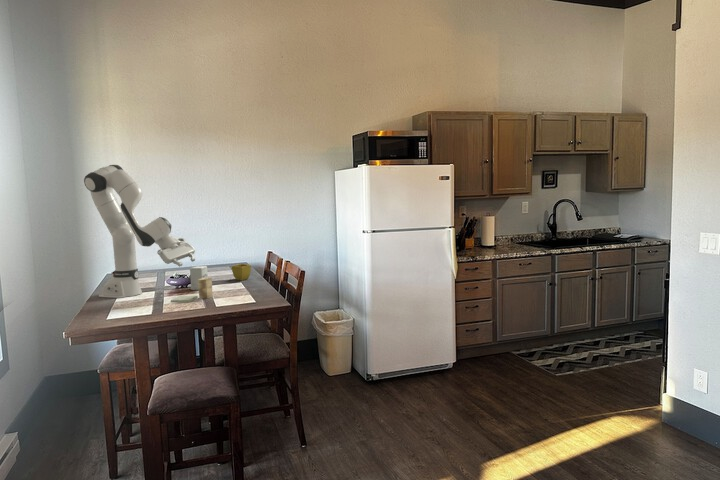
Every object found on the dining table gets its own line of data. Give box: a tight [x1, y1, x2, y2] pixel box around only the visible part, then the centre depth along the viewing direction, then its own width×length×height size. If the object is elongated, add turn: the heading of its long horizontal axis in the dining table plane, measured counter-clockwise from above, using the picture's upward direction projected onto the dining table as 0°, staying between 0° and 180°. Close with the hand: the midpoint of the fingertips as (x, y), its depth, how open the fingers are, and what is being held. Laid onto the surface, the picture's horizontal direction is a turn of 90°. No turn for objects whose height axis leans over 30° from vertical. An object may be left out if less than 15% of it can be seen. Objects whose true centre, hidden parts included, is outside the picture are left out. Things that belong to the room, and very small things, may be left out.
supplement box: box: [189, 265, 209, 291], centre depth 312 cm, size 7×7×13 cm
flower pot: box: [231, 263, 252, 281], centre depth 335 cm, size 9×9×9 cm
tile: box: [170, 295, 199, 303], centre depth 284 cm, size 10×10×1 cm
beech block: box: [198, 277, 214, 300], centre depth 287 cm, size 5×5×10 cm
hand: (187, 262), depth 289 cm, fingers open, 8 cm apart
